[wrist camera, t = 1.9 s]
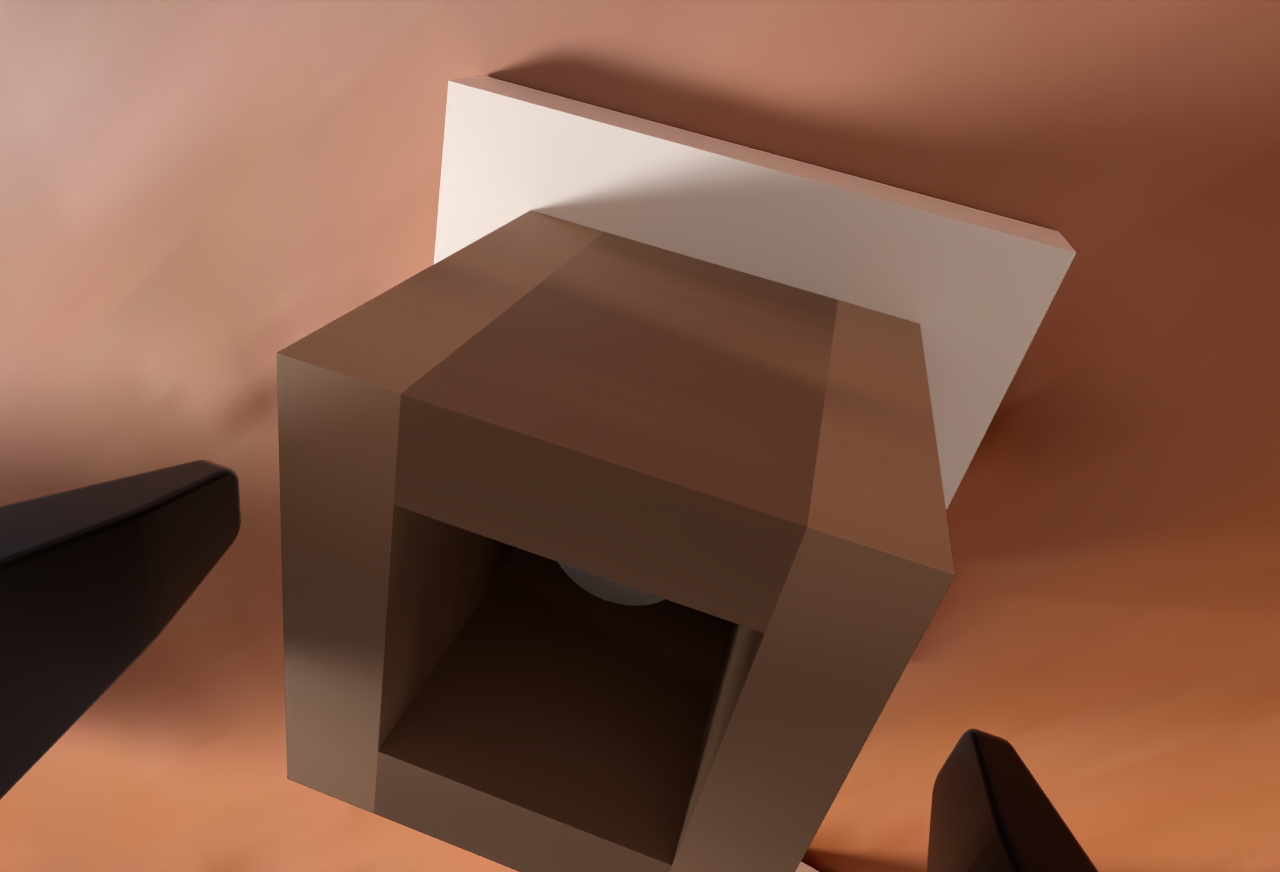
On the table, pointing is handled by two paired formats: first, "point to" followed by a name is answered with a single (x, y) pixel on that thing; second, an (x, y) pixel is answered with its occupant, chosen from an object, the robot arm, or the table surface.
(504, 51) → the table surface
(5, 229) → the table surface
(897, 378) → the walnut collar
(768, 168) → the rod stand
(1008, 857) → the robot arm
